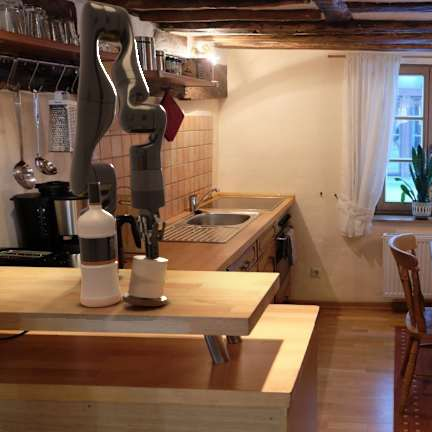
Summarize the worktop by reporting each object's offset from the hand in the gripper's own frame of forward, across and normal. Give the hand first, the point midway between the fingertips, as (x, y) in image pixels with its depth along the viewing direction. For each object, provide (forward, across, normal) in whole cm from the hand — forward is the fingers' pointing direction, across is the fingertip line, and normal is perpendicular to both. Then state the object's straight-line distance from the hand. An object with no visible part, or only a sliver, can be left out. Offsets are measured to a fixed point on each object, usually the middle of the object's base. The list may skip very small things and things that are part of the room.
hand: (152, 257), depth 138 cm
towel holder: (+4, 0, -4) cm, 5 cm away
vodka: (+12, +9, +10) cm, 18 cm away
